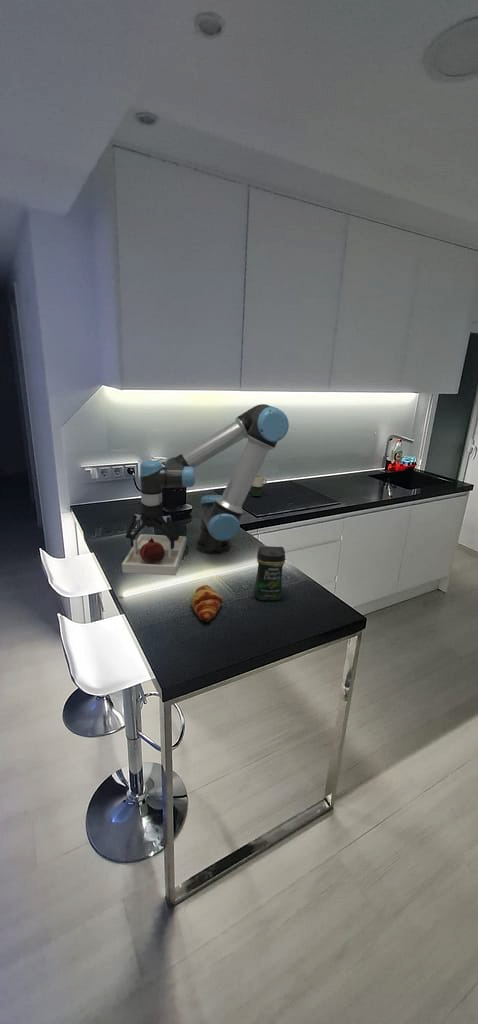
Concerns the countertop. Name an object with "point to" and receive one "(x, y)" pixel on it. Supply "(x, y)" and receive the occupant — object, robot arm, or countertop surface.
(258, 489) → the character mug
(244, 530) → the countertop surface
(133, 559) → the fruit holder
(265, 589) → the coffee jar
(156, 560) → the fruit
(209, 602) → the croissant
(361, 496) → the countertop surface
